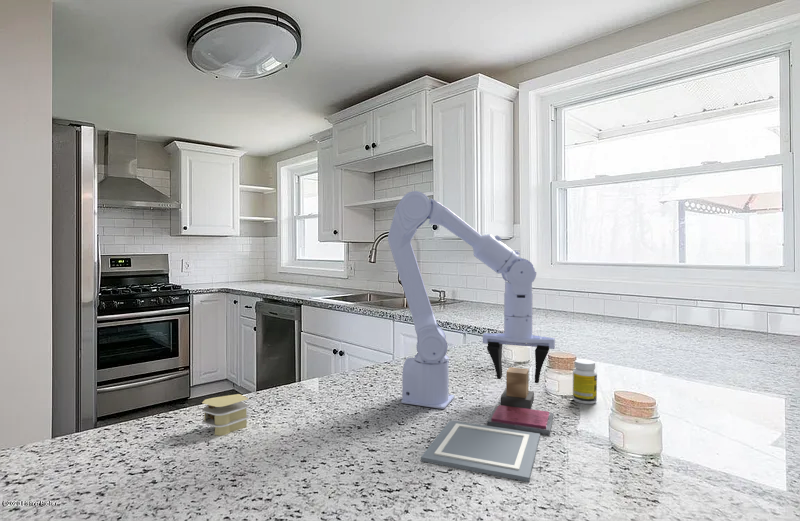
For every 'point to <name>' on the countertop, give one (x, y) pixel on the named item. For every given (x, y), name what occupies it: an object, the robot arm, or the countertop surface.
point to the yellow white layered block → (226, 413)
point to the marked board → (484, 449)
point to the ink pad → (521, 419)
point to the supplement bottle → (585, 382)
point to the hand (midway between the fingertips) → (518, 379)
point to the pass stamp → (517, 389)
